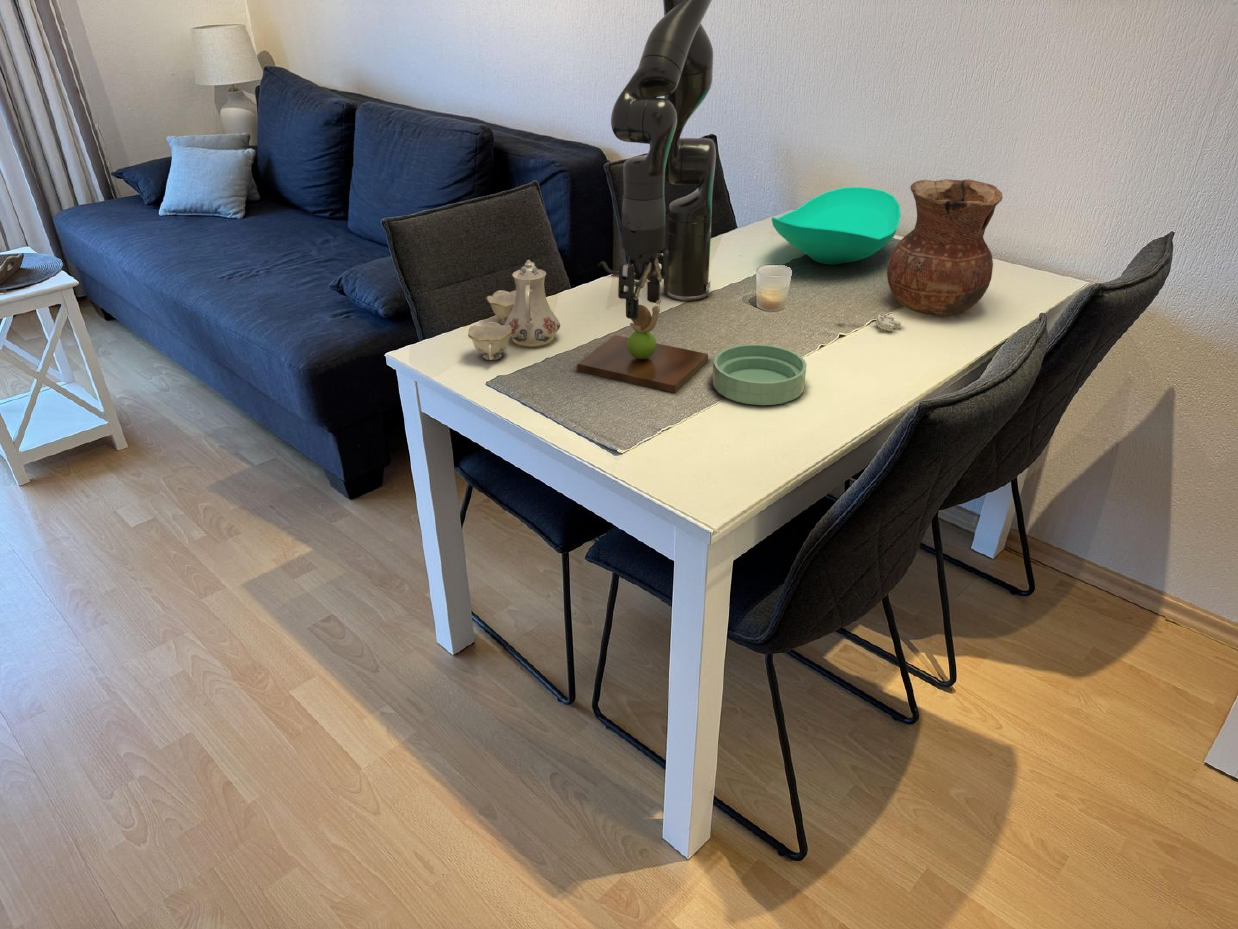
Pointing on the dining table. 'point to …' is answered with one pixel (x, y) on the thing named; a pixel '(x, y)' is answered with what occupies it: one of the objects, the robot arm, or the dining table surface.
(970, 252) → the jug
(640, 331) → the snail figurine
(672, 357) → the walnut board
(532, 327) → the chinaware
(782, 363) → the bowl
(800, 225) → the table top decor
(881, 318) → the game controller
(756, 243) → the dining table surface
